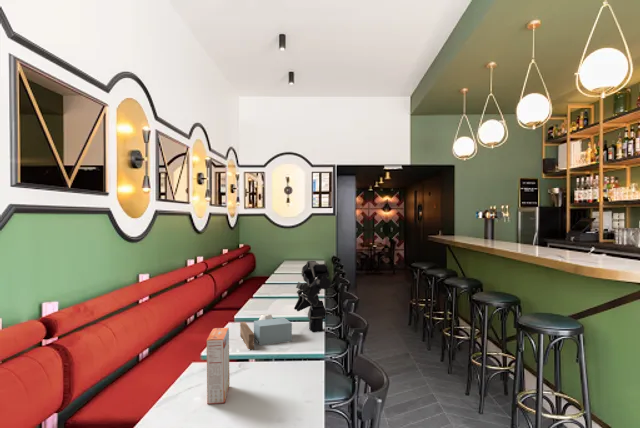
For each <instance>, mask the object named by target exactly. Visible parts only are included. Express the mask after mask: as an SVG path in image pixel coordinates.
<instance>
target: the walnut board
mask: <svg viewBox="0 0 640 428" xmlns="http://www.w3.org/2000/svg"><path fill="white" fill-rule="evenodd" d="M239 324H240V325H239V328H240V329H239V330H240V332H239V333H240V336H239V337H240V338H241V339H243V340H242V341H243V343H244V345H245V344H246V345H245V346H246V348H247V350H248V349H254V350H255V339H254V331H253V330H252V329H251V328H250V326H249V325H248V324H247V323H246V321H242V322H240V323H239Z"/></svg>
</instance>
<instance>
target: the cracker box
mask: <svg viewBox="0 0 640 428" xmlns="http://www.w3.org/2000/svg"><path fill="white" fill-rule="evenodd" d="M229 389H230V329H229V327H215V328H212V330H211V332H210V333H209V335H208V337H207V339H206V394H207V395H206V396H207V398H206V400H207V405H215V404H225V402H226V400H227V395H228V393H229Z"/></svg>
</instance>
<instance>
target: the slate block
mask: <svg viewBox="0 0 640 428" xmlns="http://www.w3.org/2000/svg"><path fill="white" fill-rule="evenodd" d="M292 325H293V323H292V322H291V321H290V320H288V319H287V318H285V317H277V318H273V319H266V320H259V319H257V320H253V333H254V341H256V343H257V342H258V343H257V345H259V346H262V345H263V346H264V345H272V343H273V344H279V343H280V342H281V343H288V341H289V342H292V341H293V337H292V336H293V328H292Z"/></svg>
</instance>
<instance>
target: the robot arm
mask: <svg viewBox="0 0 640 428" xmlns="http://www.w3.org/2000/svg"><path fill="white" fill-rule="evenodd" d="M301 277H302V279H303V281H304V282H303V283H302V282H300V281H298V282H297V284H296V287H295V288H296V289H297V290H296V293H297V296H298V299H297V301H296V303H295V306H294V308H293V309H294V311H296V312H300V311H302V310H304V309H307V308H309V309H308V312H307V319H308V320H309V322H308V327H309V328H308V330H309V329H310V330H309V331H311V332H312V333H316V332H317V331H319V332H324V331H325V329H324V322H323V321H324V320H326V316H327V315H326V314H327V310H326V308H325V305H324V301H323V300H320V298H319V297H320V296H319V295H320V294H321V292H320V291H322V290H327V289H329V288H330V287H331V280H330V279H329V278H330V271H329V268H328V266H327V265H326V264H325V263H318V262H317V261H316V260H308V261H306V264H304V265H303V266H302V268H301ZM317 333H318V332H317Z"/></svg>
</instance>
